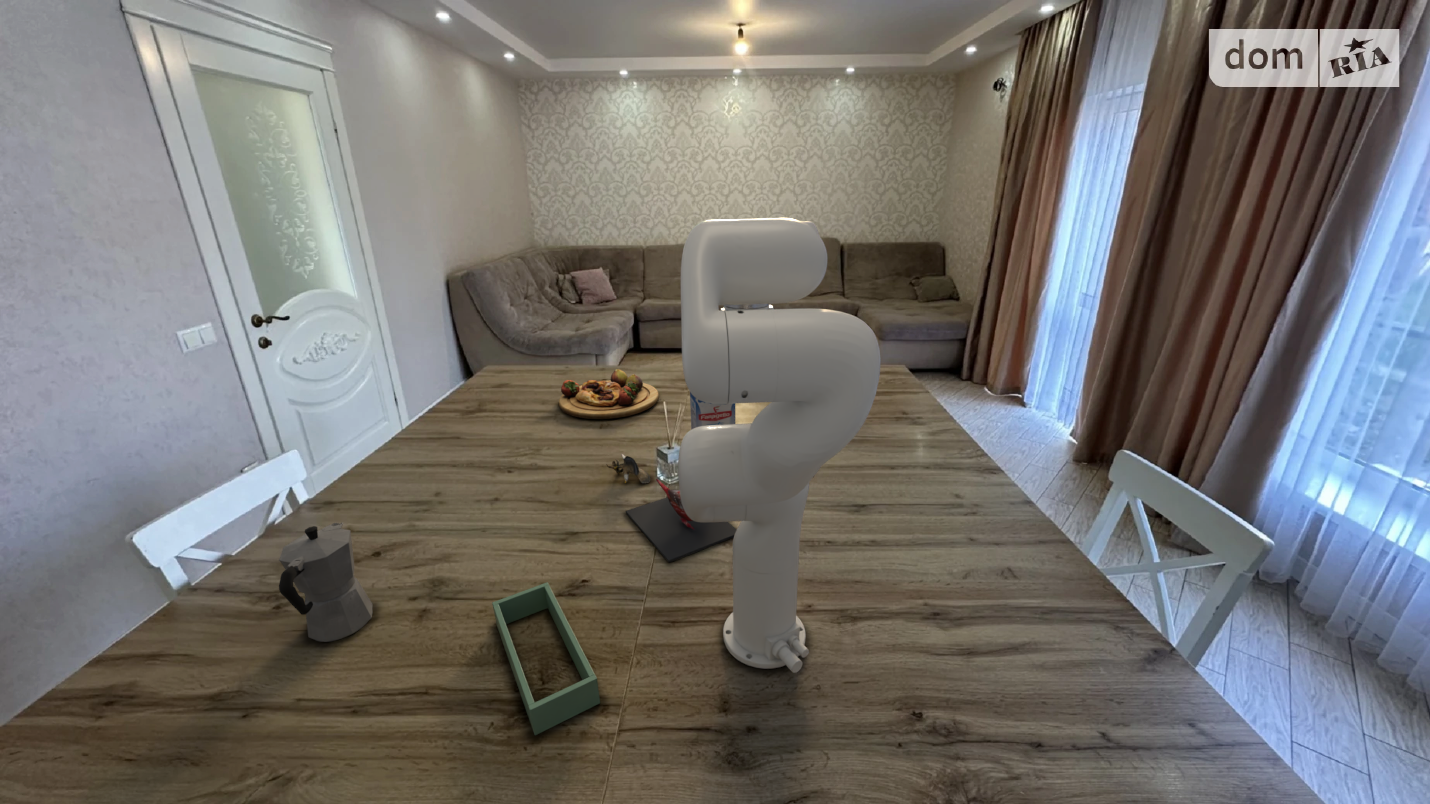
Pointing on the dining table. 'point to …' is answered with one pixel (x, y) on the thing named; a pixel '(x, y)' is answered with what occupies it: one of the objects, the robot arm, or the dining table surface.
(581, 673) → the frame
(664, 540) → the mat
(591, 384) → the wooden plate
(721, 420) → the milk carton
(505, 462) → the dining table surface
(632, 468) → the eagle figurine
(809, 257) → the robot arm
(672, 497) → the decorative bird figurine
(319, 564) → the coffeepot
